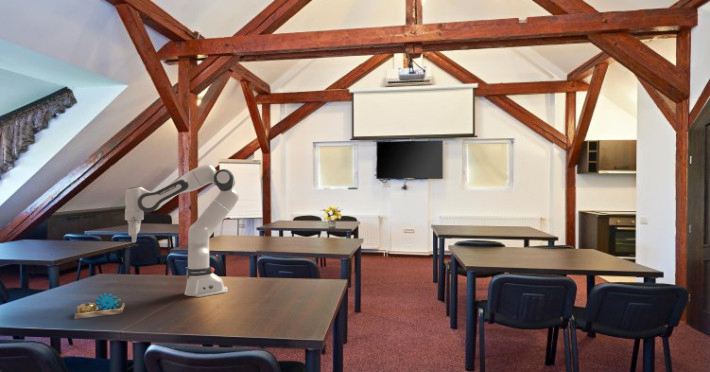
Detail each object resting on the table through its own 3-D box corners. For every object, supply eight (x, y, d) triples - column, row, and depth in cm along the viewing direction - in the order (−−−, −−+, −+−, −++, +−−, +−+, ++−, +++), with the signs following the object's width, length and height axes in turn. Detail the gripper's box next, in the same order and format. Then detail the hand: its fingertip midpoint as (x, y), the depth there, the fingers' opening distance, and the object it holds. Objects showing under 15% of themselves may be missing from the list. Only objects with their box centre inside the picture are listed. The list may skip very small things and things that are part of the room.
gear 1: (98, 308, 178) (98, 299, 178) (95, 312, 171) (95, 303, 171) (79, 310, 175) (79, 301, 175) (75, 315, 168) (75, 305, 168)
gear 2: (99, 311, 171) (94, 293, 175) (93, 319, 172) (88, 301, 177) (124, 308, 180) (118, 291, 185) (118, 315, 182) (113, 298, 186)
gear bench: (124, 305, 184) (124, 301, 184) (121, 313, 173) (121, 308, 173) (80, 310, 176) (80, 306, 176) (74, 318, 165) (74, 314, 165)
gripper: (139, 217, 194) (139, 244, 194) (142, 215, 212) (142, 239, 212) (125, 218, 191) (124, 245, 191) (129, 215, 209) (129, 240, 209)
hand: (134, 242), depth 202 cm, fingers closed
